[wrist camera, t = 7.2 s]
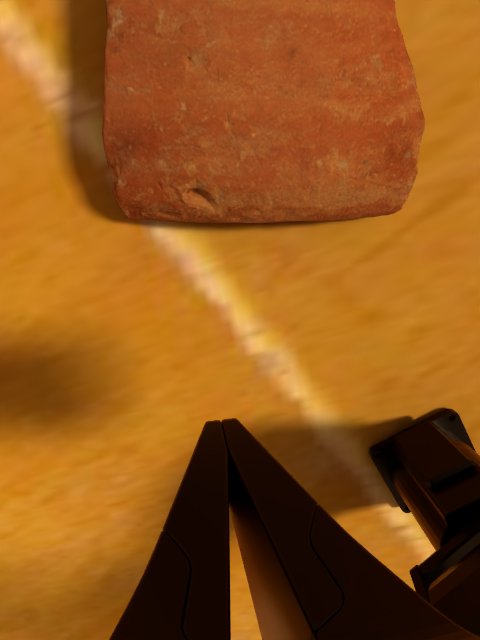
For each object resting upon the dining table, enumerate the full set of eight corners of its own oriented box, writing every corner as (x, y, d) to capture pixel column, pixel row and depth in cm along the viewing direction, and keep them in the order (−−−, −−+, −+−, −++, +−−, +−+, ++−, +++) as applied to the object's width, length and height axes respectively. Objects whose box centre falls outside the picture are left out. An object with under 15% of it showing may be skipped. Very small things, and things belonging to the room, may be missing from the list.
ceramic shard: (535, -294, 9) (417, 226, 16) (401, -116, 15) (353, 212, 22) (-10, -441, 7) (105, 233, 13) (74, -168, 13) (128, 215, 19)
